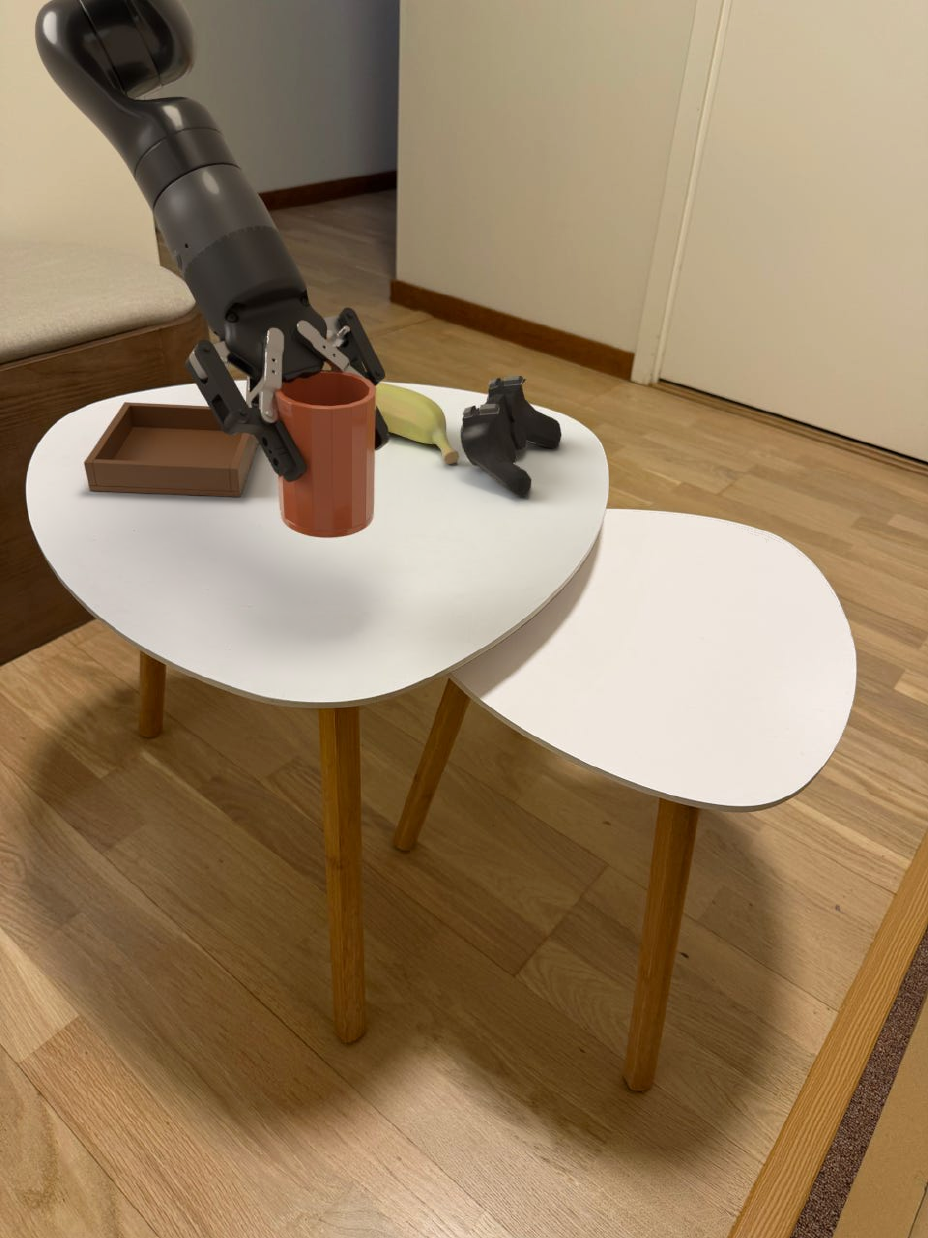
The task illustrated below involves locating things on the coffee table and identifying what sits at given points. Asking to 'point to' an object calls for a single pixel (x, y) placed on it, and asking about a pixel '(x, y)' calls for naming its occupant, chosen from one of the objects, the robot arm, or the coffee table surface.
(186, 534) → the coffee table surface
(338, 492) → the cup
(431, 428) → the banana
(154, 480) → the tray
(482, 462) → the chunky heeled booties
